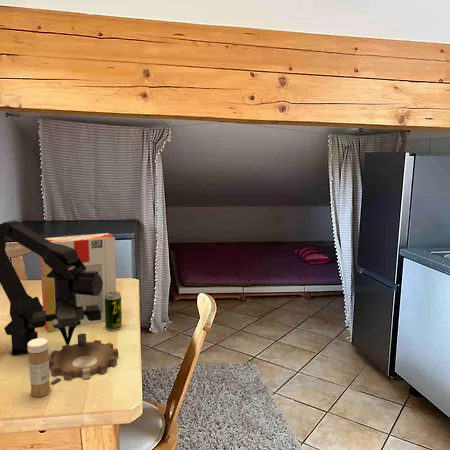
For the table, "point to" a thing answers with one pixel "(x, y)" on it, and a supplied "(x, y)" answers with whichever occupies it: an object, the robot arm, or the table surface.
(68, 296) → the robot arm
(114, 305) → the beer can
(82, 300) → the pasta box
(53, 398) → the table surface
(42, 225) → the table surface
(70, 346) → the brown gear wheel
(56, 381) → the index mark
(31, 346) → the sprinkles bottle
